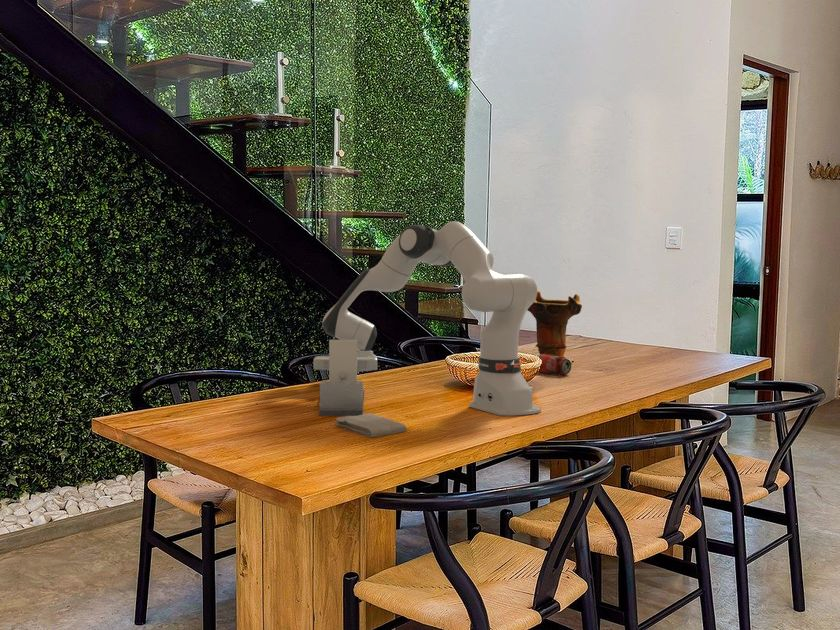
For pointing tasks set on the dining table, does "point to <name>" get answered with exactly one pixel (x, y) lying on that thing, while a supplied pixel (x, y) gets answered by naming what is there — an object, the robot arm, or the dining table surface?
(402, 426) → the washcloth
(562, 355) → the decorative vase
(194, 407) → the dining table surface
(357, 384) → the base
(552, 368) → the beverage can
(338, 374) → the upright white panel
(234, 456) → the dining table surface
